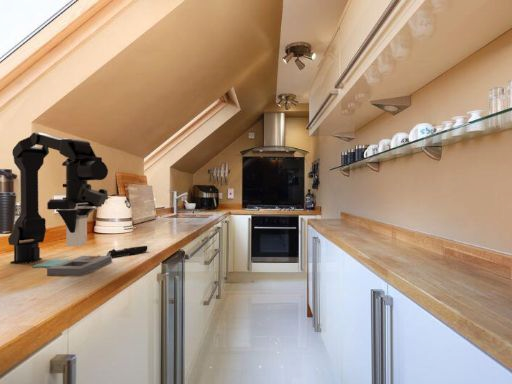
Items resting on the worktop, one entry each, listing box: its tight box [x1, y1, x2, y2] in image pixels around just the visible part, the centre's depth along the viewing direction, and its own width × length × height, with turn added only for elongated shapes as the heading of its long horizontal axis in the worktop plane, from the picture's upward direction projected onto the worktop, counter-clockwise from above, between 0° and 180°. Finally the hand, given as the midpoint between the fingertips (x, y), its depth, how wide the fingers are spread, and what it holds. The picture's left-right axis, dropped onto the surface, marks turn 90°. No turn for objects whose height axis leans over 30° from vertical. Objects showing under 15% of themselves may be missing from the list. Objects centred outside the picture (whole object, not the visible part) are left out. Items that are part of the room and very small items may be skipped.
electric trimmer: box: [105, 245, 148, 259], centre depth 120 cm, size 4×16×3 cm, turn 138°
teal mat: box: [31, 258, 73, 269], centre depth 104 cm, size 10×10×1 cm
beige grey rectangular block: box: [65, 215, 88, 247], centre depth 96 cm, size 4×4×9 cm
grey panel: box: [46, 254, 113, 277], centre depth 99 cm, size 10×18×2 cm, turn 179°
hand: (76, 231), depth 96 cm, fingers closed on beige grey rectangular block, 4 cm apart
